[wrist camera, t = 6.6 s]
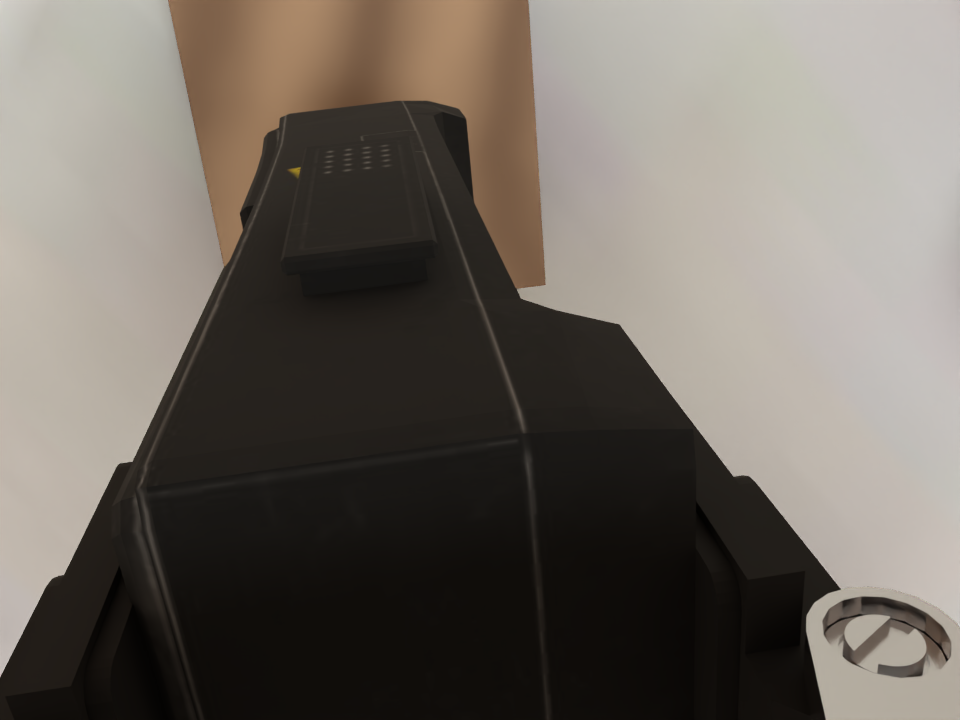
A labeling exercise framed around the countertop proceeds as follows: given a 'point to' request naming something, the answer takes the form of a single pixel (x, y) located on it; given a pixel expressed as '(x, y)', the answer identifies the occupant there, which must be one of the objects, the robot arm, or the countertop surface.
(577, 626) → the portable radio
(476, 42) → the stand
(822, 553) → the countertop surface
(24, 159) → the countertop surface
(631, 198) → the countertop surface
